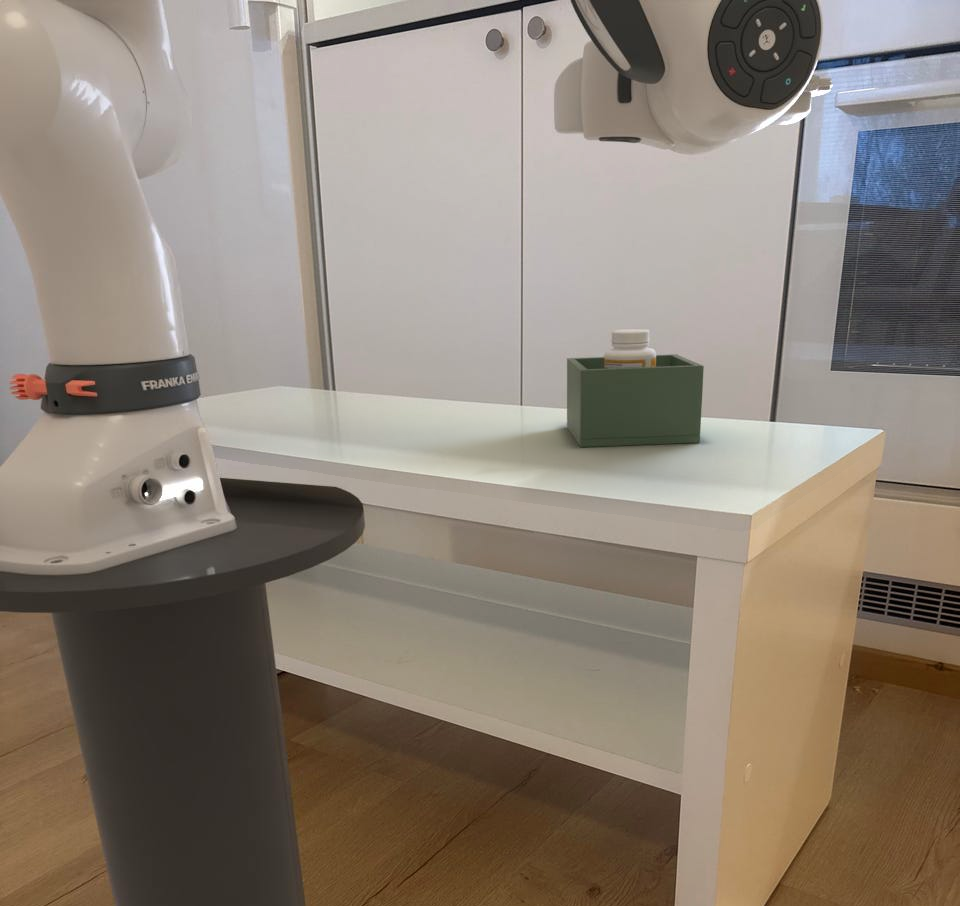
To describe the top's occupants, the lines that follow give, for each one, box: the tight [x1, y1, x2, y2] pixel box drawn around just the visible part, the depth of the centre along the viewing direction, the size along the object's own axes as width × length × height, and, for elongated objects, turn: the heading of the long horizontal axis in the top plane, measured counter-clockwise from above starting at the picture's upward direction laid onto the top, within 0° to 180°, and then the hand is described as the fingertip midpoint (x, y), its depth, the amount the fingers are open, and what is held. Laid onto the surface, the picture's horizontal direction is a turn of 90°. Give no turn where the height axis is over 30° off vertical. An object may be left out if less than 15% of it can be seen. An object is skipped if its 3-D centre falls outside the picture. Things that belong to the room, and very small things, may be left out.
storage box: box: [566, 353, 705, 448], centre depth 103 cm, size 13×13×8 cm
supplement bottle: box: [603, 328, 657, 369], centre depth 103 cm, size 6×6×10 cm
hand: (662, 113), depth 82 cm, fingers open, 8 cm apart
